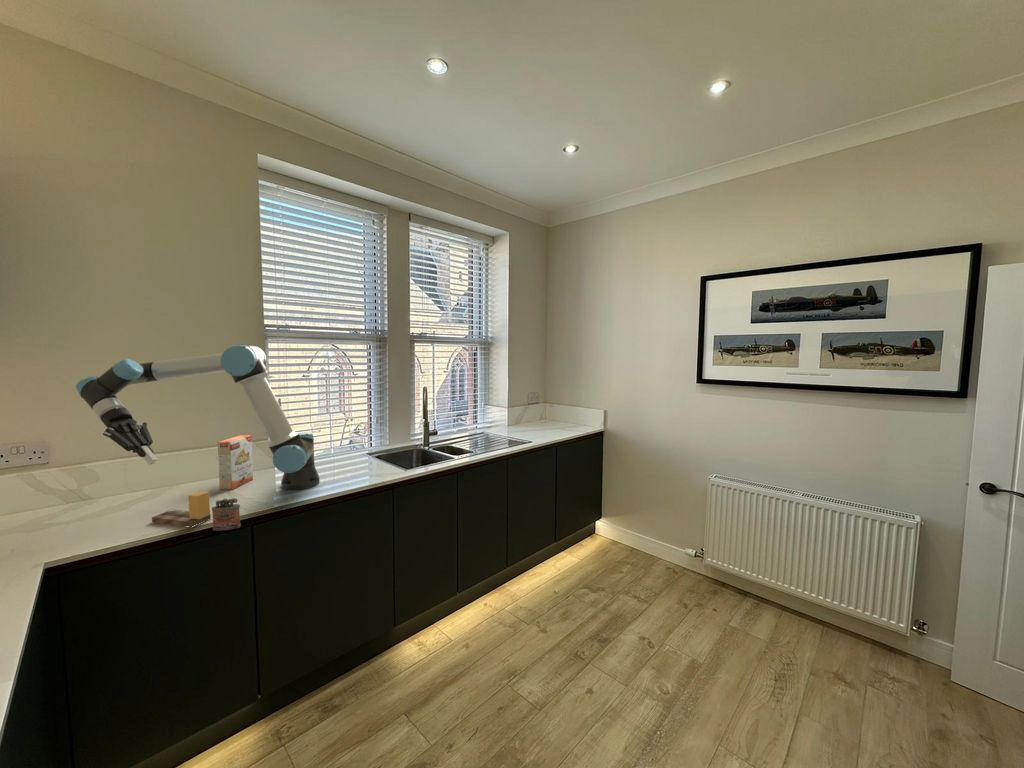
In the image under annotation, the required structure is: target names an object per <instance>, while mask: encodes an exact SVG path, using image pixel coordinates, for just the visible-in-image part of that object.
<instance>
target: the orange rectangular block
mask: <svg viewBox="0 0 1024 768" xmlns="http://www.w3.org/2000/svg"><path fill="white" fill-rule="evenodd" d="M187 496H188V497H187V500H188V511H189V515H190V518H193V519H201V518H203V517H206V516H208V515H210V514H211V509H210V508H211V507H210V505H211V504H210V493H209V492H207V491H197V492H193V493H190V494H189V495H187Z"/></svg>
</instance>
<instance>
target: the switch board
mask: <svg viewBox="0 0 1024 768" xmlns="http://www.w3.org/2000/svg"><path fill="white" fill-rule="evenodd" d="M211 515H212V514H211V513H210V515H208V516H206V517H203V518H201V519H193V518H190V515H189V510H182V509H170V510H167V511H165V512H162V513H159V514H156V515H154V516H152V517H151V522H154V523H153V524H159V523H162V524H161V525H166V524H171V525H170V526H174V525H180V526H179V527H182V526H189V527H188V528H190V527H192V526H194V525H196V524H199V523H201V522H203V521H206V520H208V519H210V518H211ZM211 519H212V518H211ZM211 519H210V520H211ZM208 521H209V520H208ZM206 522H207V521H206ZM203 523H204V522H203ZM201 524H202V523H201ZM199 525H200V524H199ZM196 526H197V525H196ZM194 527H195V526H194ZM192 528H193V527H192Z"/></svg>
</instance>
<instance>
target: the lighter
mask: <svg viewBox="0 0 1024 768" xmlns="http://www.w3.org/2000/svg"><path fill="white" fill-rule="evenodd" d="M237 502H238V498H236V497H235V498H229V499H227V498H223V499H217V500H215V506H212V507H211V511H212V524H213V525H212V531H228V530H234V529H239V528H241V527H242V523H241V514H240V508H241V505H240V504H239V503H237Z"/></svg>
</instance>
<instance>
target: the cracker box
mask: <svg viewBox="0 0 1024 768" xmlns="http://www.w3.org/2000/svg"><path fill="white" fill-rule="evenodd" d="M252 438H253V437H252V435H248V434H246V435H243V434H242V435H237V436H233V437H230V438H227V439H224V440H221V441H217V452H218V453H217V455H218V456H217V457H218V476H219V477H218V478H219V490H228V491H229V490H234V489H237V488H239V487H240V486H242V485H245V484H247V483H248V482H251V481H253V480H254V474H253V473H254V470H253V446H252V445H253V443H252Z"/></svg>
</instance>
